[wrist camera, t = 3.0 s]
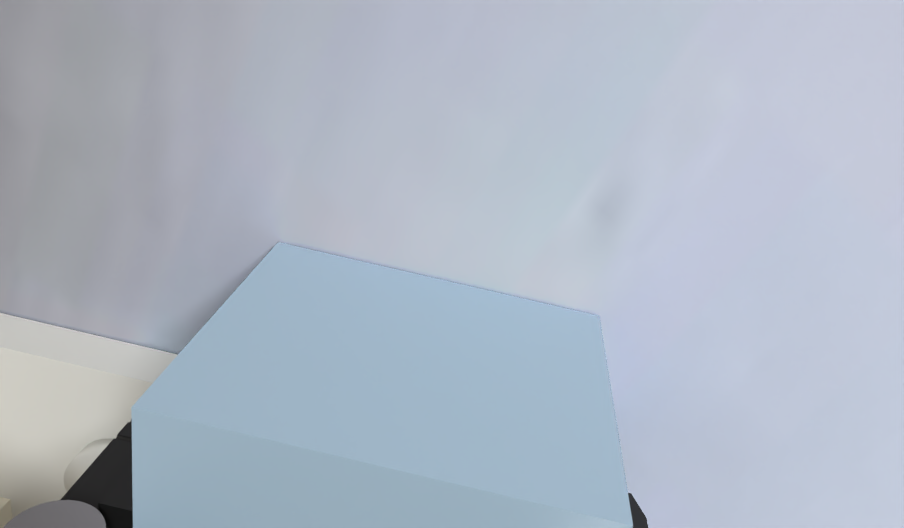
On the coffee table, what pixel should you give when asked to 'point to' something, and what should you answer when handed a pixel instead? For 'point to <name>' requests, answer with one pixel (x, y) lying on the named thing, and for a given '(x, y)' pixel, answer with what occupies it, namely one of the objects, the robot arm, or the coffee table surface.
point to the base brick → (5, 511)
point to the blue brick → (379, 409)
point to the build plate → (62, 404)
